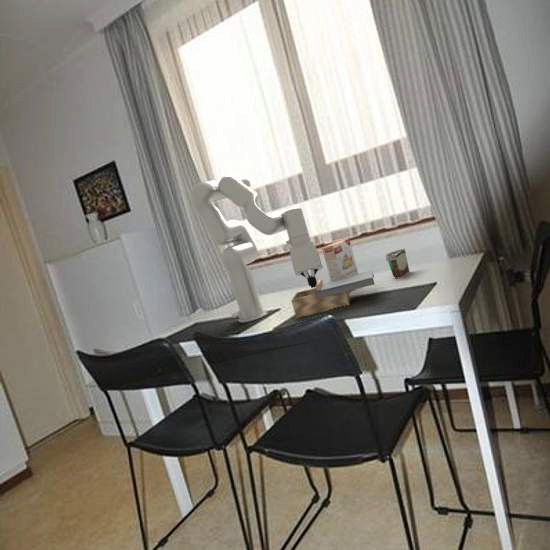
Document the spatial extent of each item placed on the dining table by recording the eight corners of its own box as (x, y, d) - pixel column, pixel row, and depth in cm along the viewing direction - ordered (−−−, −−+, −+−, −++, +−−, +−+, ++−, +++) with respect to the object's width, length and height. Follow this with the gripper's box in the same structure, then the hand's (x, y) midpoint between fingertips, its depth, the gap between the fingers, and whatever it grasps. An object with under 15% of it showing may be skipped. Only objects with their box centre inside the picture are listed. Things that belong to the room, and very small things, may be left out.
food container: (397, 273, 201) (391, 251, 199) (410, 271, 197) (404, 248, 196) (386, 281, 191) (380, 257, 190) (400, 278, 187) (394, 255, 186)
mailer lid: (318, 298, 169) (315, 286, 168) (322, 290, 183) (319, 278, 183) (374, 284, 164) (371, 272, 164) (374, 276, 178) (370, 265, 178)
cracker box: (347, 295, 186) (333, 245, 183) (334, 297, 190) (320, 247, 187) (362, 285, 196) (349, 237, 194) (350, 287, 200) (337, 240, 198)
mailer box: (296, 317, 173) (291, 300, 172) (301, 309, 185) (296, 292, 184) (349, 305, 168) (343, 286, 167) (350, 297, 181) (345, 280, 180)
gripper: (279, 247, 172) (293, 294, 174) (318, 235, 168) (332, 284, 171) (283, 244, 179) (296, 289, 181) (320, 234, 176) (333, 280, 178)
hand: (313, 286), depth 176 cm, fingers closed
